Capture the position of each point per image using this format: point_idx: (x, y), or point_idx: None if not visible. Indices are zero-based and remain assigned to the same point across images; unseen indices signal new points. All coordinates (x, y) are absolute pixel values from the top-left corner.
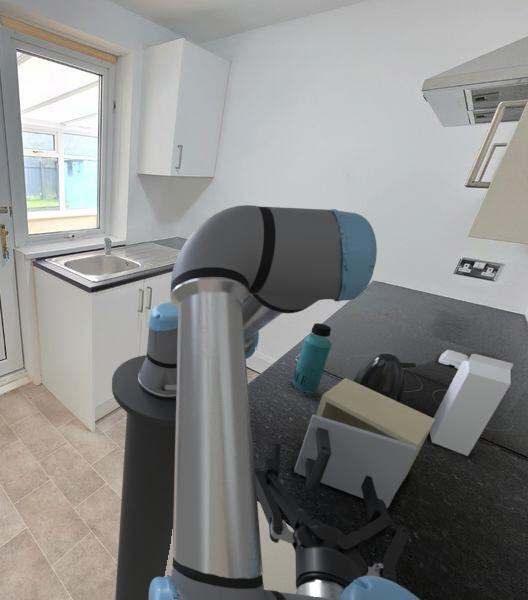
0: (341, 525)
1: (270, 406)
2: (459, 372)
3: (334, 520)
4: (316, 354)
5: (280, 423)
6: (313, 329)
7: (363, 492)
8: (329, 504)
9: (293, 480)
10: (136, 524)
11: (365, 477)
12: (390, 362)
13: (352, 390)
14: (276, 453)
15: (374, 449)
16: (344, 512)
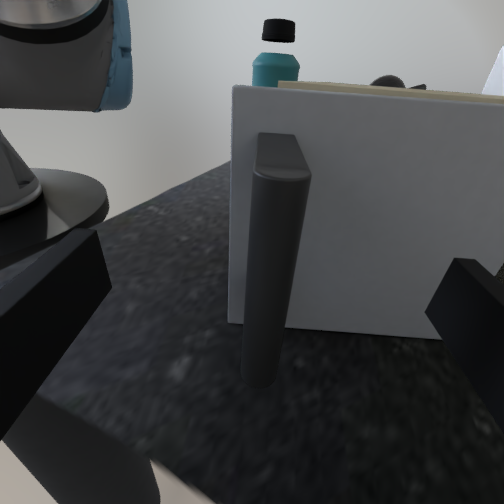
0: (365, 463)
1: (203, 205)
2: (497, 68)
3: (342, 451)
4: (275, 86)
5: (217, 227)
6: (264, 30)
7: (449, 333)
8: (321, 390)
9: (221, 348)
10: (39, 473)
11: (450, 268)
12: (392, 85)
13: (348, 84)
14: (29, 270)
15: (450, 166)
16: (364, 400)
